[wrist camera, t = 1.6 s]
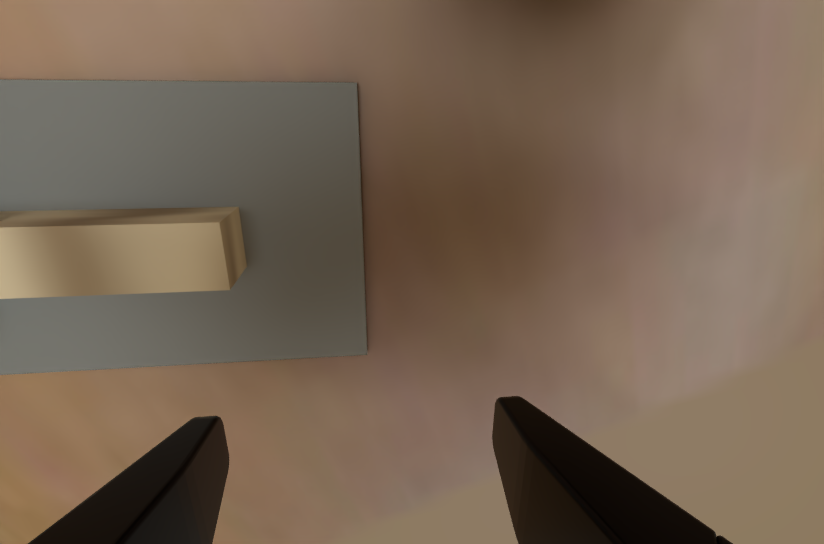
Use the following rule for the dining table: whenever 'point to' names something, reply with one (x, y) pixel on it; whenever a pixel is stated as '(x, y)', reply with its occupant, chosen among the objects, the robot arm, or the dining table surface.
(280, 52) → the dining table surface
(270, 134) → the mat
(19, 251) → the long wooden beam
